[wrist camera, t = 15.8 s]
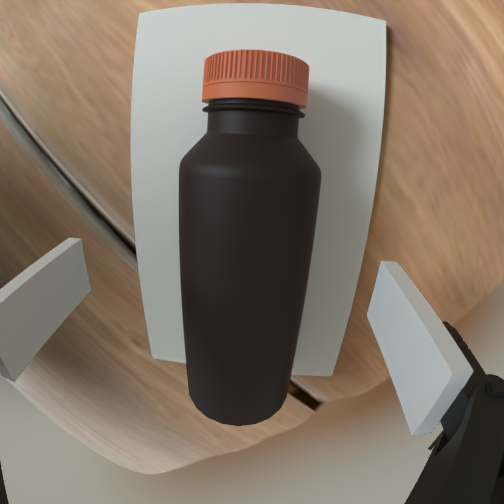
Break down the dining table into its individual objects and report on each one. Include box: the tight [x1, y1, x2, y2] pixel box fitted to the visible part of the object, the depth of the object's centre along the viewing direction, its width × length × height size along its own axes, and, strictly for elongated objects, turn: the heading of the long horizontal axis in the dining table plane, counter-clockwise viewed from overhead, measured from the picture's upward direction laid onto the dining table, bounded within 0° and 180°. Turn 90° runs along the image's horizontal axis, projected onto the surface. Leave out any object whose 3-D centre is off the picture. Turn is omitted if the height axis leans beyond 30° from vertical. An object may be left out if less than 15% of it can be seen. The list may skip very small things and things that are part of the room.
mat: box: [131, 3, 386, 376], centre depth 18 cm, size 15×26×1 cm, turn 177°
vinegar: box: [179, 49, 321, 426], centre depth 16 cm, size 7×7×20 cm
